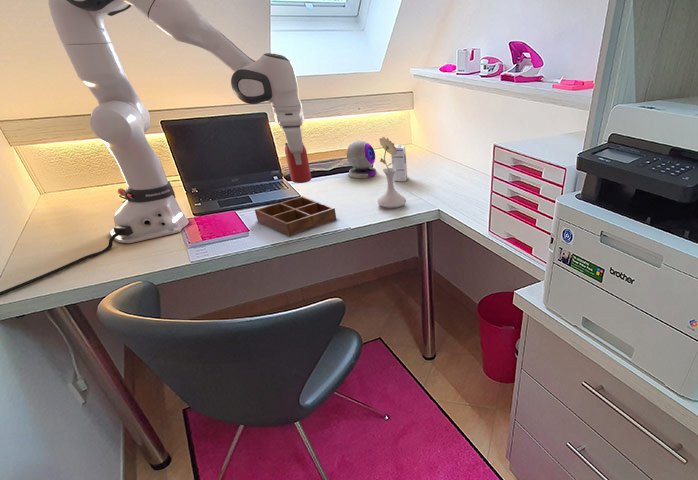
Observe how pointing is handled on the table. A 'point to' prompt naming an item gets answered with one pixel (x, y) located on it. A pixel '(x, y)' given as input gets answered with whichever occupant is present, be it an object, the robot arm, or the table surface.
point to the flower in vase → (390, 180)
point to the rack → (295, 215)
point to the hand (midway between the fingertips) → (298, 161)
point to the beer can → (298, 166)
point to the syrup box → (399, 164)
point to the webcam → (361, 159)
